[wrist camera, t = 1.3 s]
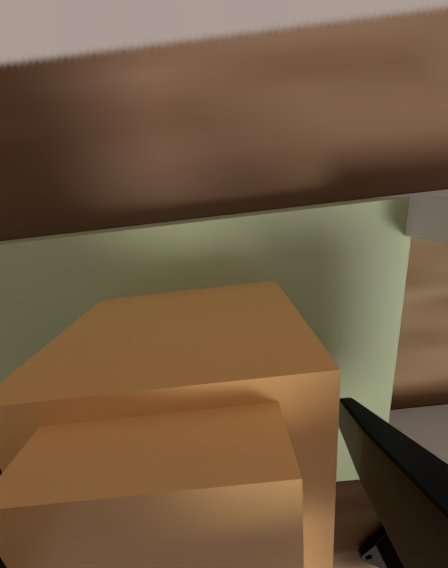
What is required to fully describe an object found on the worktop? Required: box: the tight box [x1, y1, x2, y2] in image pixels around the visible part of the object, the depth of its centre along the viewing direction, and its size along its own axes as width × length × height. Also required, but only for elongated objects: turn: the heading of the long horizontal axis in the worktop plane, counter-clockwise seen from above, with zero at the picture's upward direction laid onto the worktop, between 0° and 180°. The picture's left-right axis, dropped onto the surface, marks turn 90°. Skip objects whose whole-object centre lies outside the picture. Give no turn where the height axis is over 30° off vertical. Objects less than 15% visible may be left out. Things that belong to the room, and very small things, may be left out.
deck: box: [0, 189, 448, 482], centre depth 10 cm, size 28×12×4 cm, turn 96°
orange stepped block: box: [0, 280, 341, 568], centre depth 7 cm, size 6×8×6 cm
